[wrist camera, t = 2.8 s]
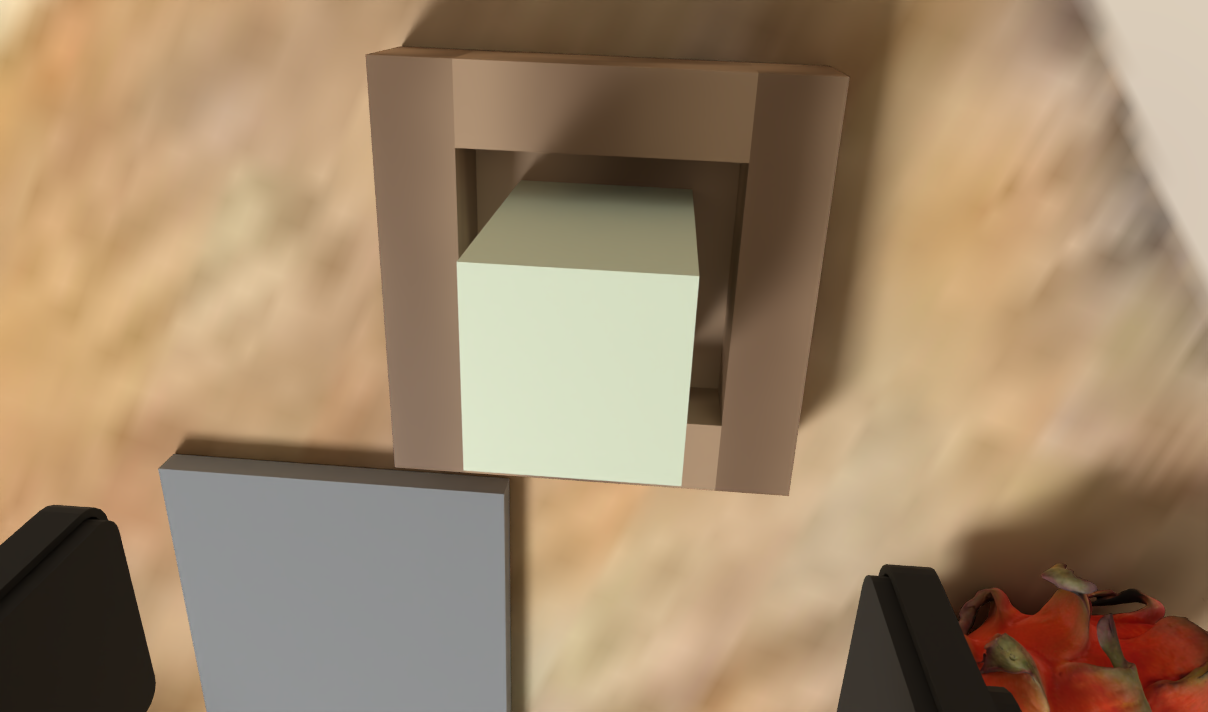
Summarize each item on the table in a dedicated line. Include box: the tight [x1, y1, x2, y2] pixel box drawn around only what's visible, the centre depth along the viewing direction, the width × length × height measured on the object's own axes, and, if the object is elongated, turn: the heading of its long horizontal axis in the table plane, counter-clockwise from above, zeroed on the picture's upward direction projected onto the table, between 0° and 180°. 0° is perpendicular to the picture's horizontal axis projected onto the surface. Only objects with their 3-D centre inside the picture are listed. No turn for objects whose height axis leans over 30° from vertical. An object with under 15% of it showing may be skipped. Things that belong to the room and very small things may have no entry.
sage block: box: [457, 180, 699, 486], centre depth 22 cm, size 5×5×8 cm
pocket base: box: [366, 47, 850, 496], centre depth 25 cm, size 12×12×3 cm
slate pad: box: [158, 454, 511, 712], centre depth 32 cm, size 12×12×1 cm
